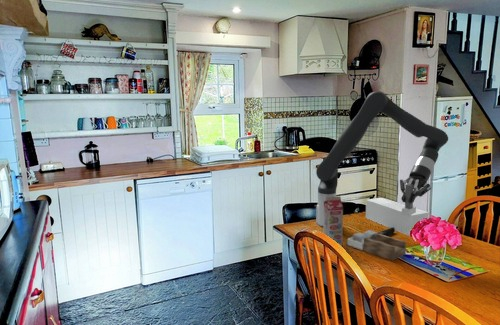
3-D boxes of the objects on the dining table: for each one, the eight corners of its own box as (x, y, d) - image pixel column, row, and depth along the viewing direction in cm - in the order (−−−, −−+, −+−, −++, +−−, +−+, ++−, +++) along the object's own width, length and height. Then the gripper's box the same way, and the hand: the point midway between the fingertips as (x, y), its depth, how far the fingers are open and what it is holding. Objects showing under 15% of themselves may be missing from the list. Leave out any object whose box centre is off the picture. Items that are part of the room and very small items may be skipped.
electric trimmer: (397, 234, 176) (397, 227, 175) (378, 241, 166) (378, 234, 166) (389, 232, 179) (390, 226, 178) (371, 239, 169) (371, 232, 169)
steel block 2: (363, 240, 158) (363, 232, 158) (368, 238, 161) (369, 230, 160) (371, 243, 155) (372, 234, 155) (376, 241, 158) (377, 232, 157)
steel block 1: (360, 245, 160) (353, 243, 163) (366, 243, 162) (358, 240, 165) (361, 236, 159) (353, 234, 162) (366, 234, 162) (358, 232, 165)
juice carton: (323, 241, 166) (323, 195, 163) (337, 241, 167) (338, 194, 164) (327, 247, 160) (328, 198, 156) (342, 246, 160) (343, 198, 157)
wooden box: (363, 250, 155) (364, 238, 155) (376, 245, 161) (377, 233, 161) (392, 260, 145) (393, 247, 144) (405, 254, 151) (406, 241, 150)
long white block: (365, 218, 200) (366, 199, 198) (380, 216, 204) (381, 197, 202) (411, 237, 171) (412, 215, 169) (427, 233, 175) (429, 212, 173)
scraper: (401, 214, 152) (402, 185, 150) (409, 210, 156) (409, 182, 154) (408, 216, 150) (409, 186, 148) (415, 212, 154) (416, 183, 151)
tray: (347, 245, 162) (347, 238, 161) (360, 239, 168) (360, 233, 168) (362, 250, 156) (362, 243, 155) (375, 244, 162) (376, 238, 161)
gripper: (404, 162, 160) (387, 193, 154) (436, 165, 149) (420, 200, 143) (409, 172, 164) (394, 203, 158) (441, 176, 153) (425, 210, 147)
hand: (406, 201), depth 151 cm, fingers closed on scraper, 2 cm apart
